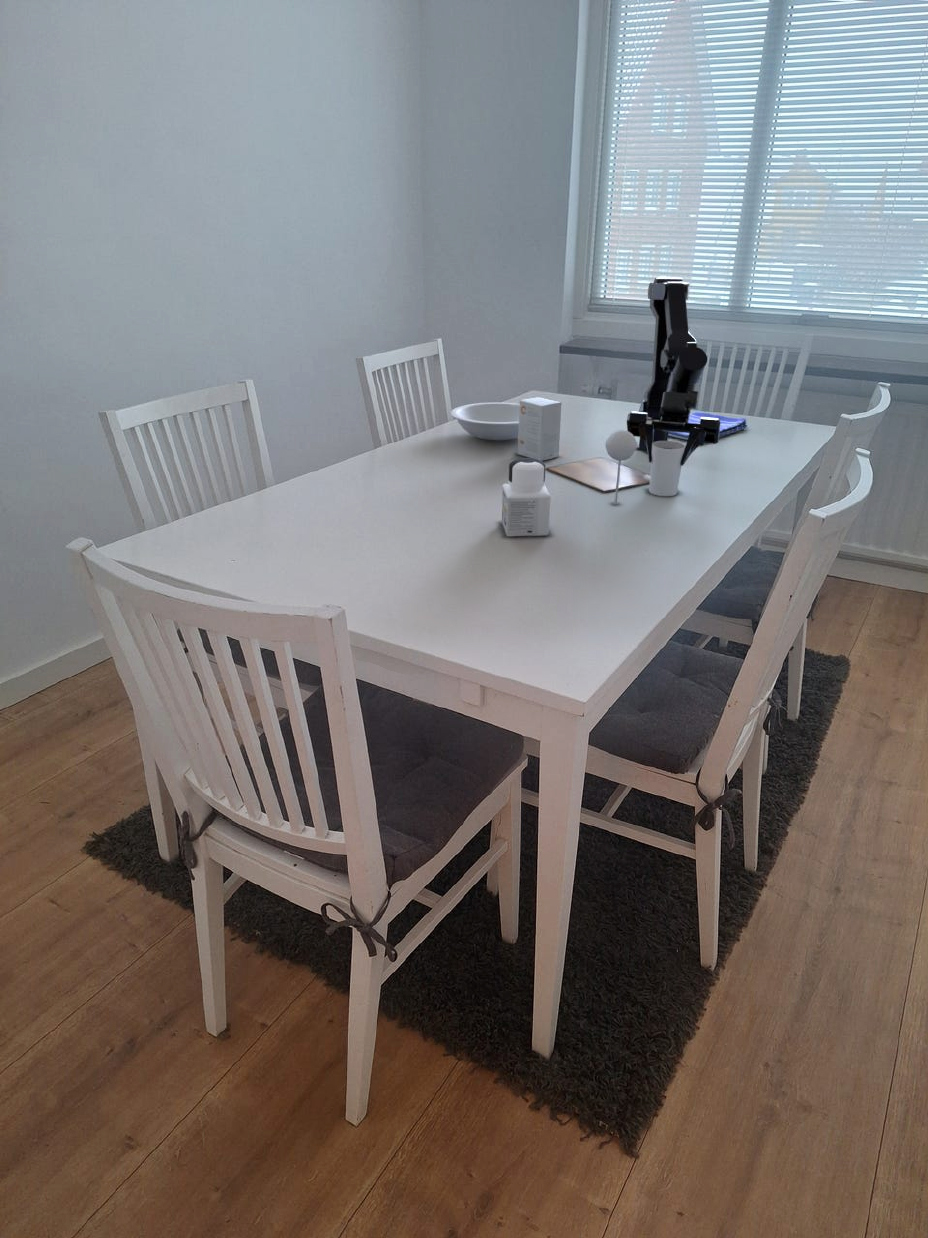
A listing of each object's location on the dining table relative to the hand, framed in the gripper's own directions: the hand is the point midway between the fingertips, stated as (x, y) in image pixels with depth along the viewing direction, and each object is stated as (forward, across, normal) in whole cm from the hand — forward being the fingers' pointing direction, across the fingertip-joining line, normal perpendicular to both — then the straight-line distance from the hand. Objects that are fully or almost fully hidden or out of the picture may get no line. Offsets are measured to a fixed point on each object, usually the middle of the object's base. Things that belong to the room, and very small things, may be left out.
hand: (665, 462), depth 167 cm
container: (+26, -21, -17) cm, 38 cm away
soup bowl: (-17, -46, +27) cm, 56 cm away
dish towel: (-36, +2, +46) cm, 59 cm away
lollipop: (+12, -8, -2) cm, 15 cm away
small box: (-8, -32, +18) cm, 38 cm away
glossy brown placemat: (-2, -14, +11) cm, 18 cm away
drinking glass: (+4, 0, +6) cm, 7 cm away
